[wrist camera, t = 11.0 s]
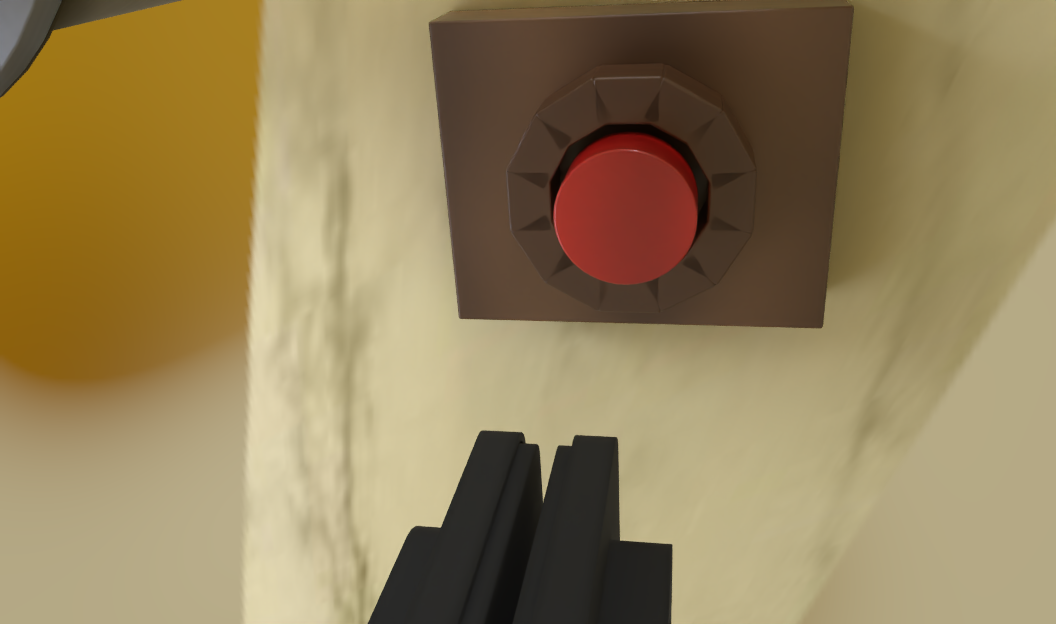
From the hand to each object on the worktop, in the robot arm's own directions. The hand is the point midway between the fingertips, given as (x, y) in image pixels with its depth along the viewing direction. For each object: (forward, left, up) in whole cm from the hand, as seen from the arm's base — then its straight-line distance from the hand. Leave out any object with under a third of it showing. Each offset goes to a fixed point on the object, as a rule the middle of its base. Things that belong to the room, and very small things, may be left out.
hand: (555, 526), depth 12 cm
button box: (0, 0, -17) cm, 17 cm away
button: (0, 0, -13) cm, 13 cm away
